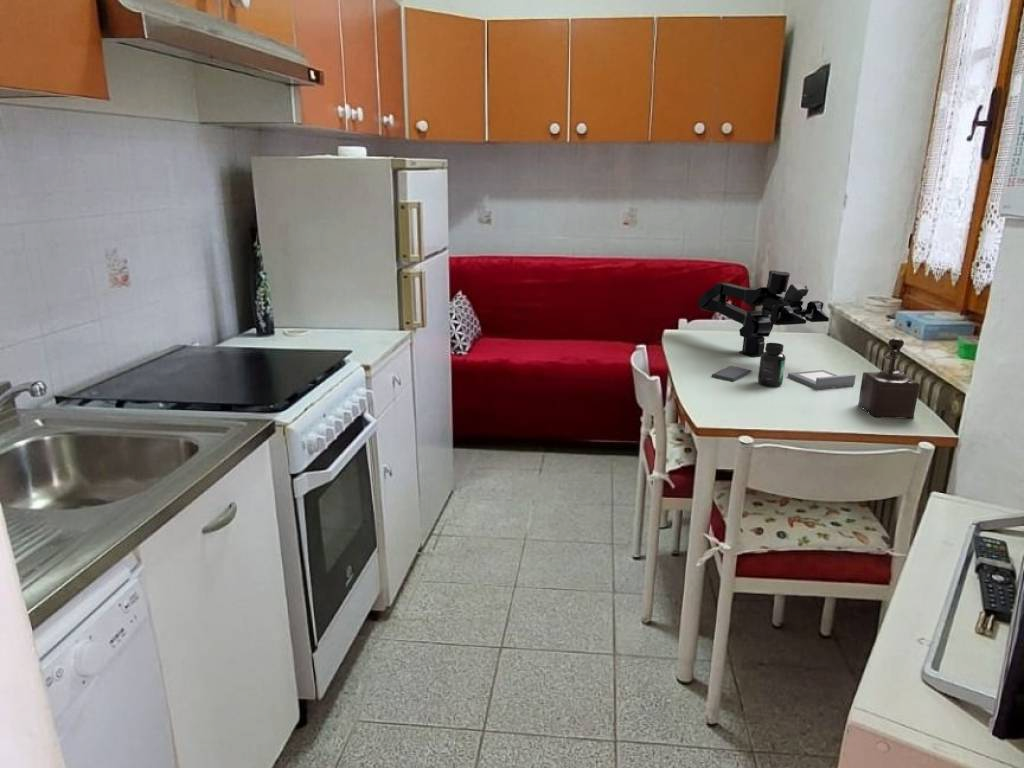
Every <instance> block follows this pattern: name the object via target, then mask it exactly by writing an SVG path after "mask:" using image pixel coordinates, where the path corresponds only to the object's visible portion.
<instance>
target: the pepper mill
mask: <svg viewBox="0 0 1024 768" xmlns="http://www.w3.org/2000/svg"><path fill="white" fill-rule="evenodd" d="M904 344H905V343H904V340H903V339H902V338H899V337H898V338H897V337H893V338H891V339H889V340H888V346H889V347H890V352H889V354H888V355H883V356H882V359H884V360H889V361H891V362H890V367H889V369H888V368H887V369H883V370H880V371H879V372H877V371H876V372H873V371H872V372H871V371H869V372H867V371H866V372H865V371H864V372H863V373H862V376H861V377H862V379H861V382H860V383H861V384H860V390H859V396H858V397H859V398H858V406H859V405H860V406H861V407H862V408H864V409H865V410H866V411H867V412H869V413H870V414H871V416H872V415H873V416H876V417H875V418H882V417H906V418H905V419H914V418H915V411H916V406H917V400H918V397H919V396H918V395H919V392H920V391H919V390H920V383H918V382H917V381H915V380H914V379H913V377H911V376H910V375H908V374H906V373H907V370H906V369H905V370H903V371H900V370H898V369H896V368H895V367H896V366H895V365H896V361H897V360H898V356H901V349H902V348H903V347H904ZM860 406H859V407H860ZM861 407H860V408H861ZM862 408H861V409H862ZM864 409H863V410H864ZM865 410H864V411H865ZM866 411H865V412H866ZM867 412H866V413H867ZM869 413H868V414H869ZM870 414H869V415H870ZM873 416H872V417H873Z"/></svg>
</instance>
